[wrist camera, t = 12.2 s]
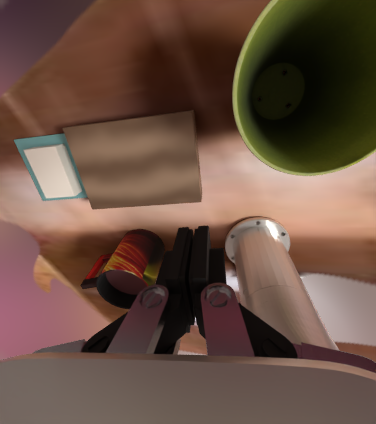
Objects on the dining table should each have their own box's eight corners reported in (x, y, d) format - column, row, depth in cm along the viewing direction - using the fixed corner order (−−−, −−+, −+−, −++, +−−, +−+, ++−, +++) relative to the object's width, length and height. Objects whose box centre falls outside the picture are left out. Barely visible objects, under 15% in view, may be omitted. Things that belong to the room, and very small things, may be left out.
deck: (202, 192, 39) (201, 202, 36) (102, 200, 42) (92, 209, 39) (194, 110, 33) (192, 111, 29) (76, 125, 36) (62, 128, 32)
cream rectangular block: (46, 198, 40) (54, 193, 42) (75, 196, 39) (82, 191, 41) (23, 150, 36) (34, 147, 38) (55, 146, 35) (64, 143, 37)
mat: (98, 195, 42) (97, 196, 41) (44, 199, 44) (42, 200, 43) (76, 131, 36) (75, 132, 36) (15, 139, 38) (13, 139, 38)
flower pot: (203, 107, 33) (197, 113, 19) (273, -5, 26) (345, -124, 12) (276, 162, 36) (318, 204, 22) (355, 74, 29) (491, 51, 15)
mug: (102, 253, 49) (72, 295, 38) (141, 221, 44) (119, 259, 33) (133, 278, 52) (113, 323, 41) (173, 250, 47) (162, 294, 36)
